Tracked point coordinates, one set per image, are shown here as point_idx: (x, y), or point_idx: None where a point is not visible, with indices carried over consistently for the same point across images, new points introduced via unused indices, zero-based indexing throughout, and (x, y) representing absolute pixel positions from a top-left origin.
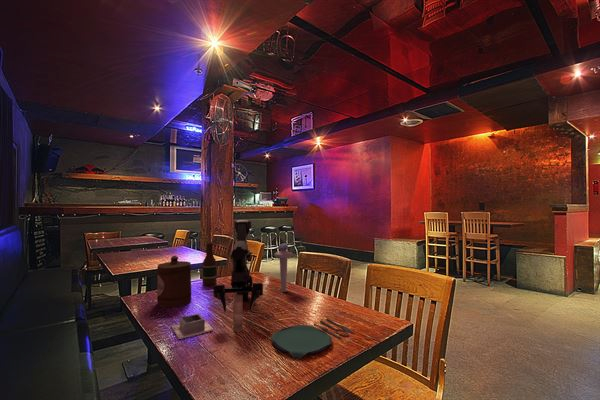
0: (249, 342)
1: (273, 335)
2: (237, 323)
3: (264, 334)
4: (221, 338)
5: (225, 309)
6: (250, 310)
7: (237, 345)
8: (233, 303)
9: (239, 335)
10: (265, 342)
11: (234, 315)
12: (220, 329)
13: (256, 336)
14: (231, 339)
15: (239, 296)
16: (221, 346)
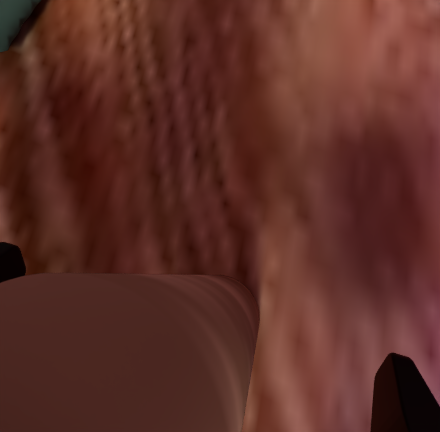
0: (182, 62)
1: (4, 9)
2: (219, 277)
3: (49, 143)
4: (377, 200)
5: (396, 374)
6: (13, 247)
7: (272, 48)
8: (242, 361)
9: (227, 198)
10: (83, 27)
11: (242, 305)
12: (370, 391)
13: (111, 133)
14: (299, 153)
15: (9, 357)
16: (388, 70)
